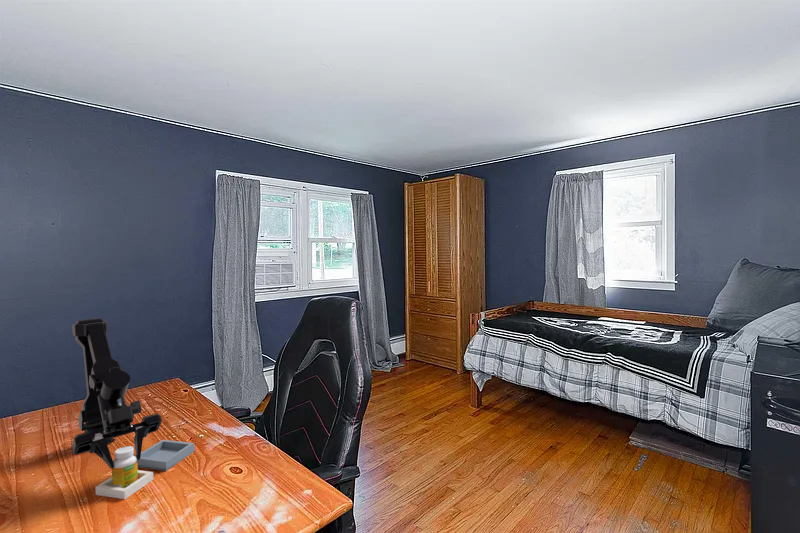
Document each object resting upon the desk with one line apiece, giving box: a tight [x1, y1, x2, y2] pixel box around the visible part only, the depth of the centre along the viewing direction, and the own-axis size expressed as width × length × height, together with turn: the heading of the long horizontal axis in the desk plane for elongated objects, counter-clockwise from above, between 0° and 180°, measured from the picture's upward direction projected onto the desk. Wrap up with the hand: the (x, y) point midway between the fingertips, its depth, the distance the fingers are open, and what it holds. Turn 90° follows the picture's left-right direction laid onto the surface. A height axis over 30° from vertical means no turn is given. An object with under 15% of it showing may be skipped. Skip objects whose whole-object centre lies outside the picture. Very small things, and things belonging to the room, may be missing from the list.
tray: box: [137, 439, 196, 472], centre depth 117 cm, size 11×11×2 cm
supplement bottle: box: [111, 445, 139, 488], centre depth 103 cm, size 5×5×10 cm
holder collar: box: [95, 469, 154, 500], centre depth 104 cm, size 9×9×2 cm
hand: (126, 463), depth 102 cm, fingers closed on supplement bottle, 5 cm apart
